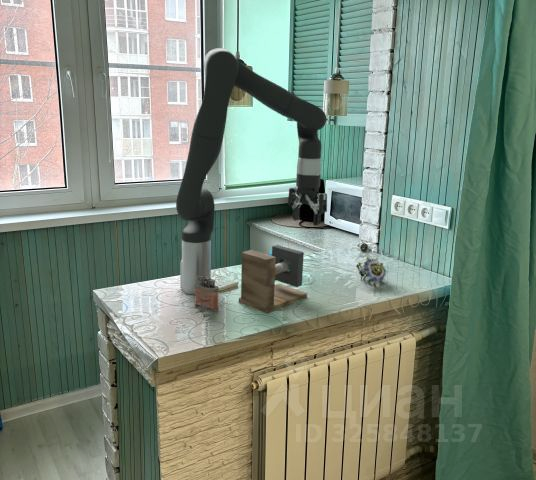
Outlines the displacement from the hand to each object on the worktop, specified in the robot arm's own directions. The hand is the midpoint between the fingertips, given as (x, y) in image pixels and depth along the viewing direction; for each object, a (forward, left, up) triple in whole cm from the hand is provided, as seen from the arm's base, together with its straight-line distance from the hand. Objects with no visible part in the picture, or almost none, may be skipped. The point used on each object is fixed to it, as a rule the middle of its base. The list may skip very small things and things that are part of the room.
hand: (306, 222), depth 168 cm
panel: (-1, -8, -19) cm, 20 cm away
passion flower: (+12, +23, -23) cm, 35 cm away
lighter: (-10, -34, -23) cm, 42 cm away
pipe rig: (-1, -14, -23) cm, 27 cm away
